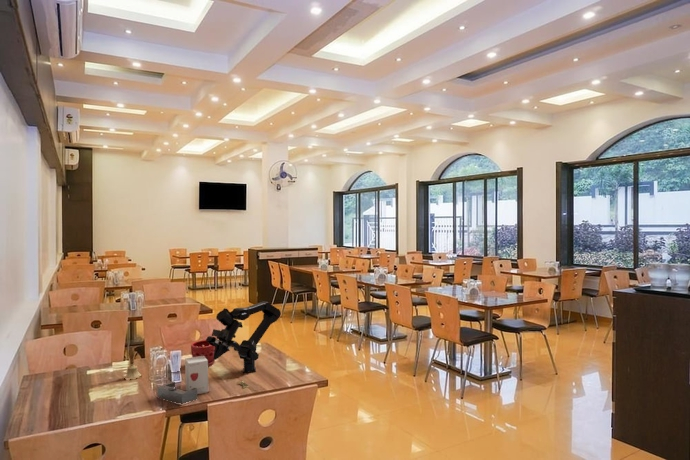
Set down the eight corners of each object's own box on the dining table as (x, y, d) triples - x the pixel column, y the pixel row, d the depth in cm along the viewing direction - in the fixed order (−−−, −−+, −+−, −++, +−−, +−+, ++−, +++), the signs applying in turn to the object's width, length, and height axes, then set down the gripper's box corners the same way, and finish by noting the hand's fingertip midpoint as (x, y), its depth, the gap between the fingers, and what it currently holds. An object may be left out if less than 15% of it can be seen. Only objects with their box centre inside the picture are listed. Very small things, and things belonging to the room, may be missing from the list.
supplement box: (188, 396, 213) (187, 363, 212) (185, 389, 220) (184, 358, 220) (209, 392, 217) (208, 360, 216) (205, 386, 225) (204, 355, 224)
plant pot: (186, 366, 256) (185, 344, 256) (206, 359, 267) (205, 338, 266) (202, 370, 249) (201, 347, 248) (221, 363, 259) (221, 341, 259)
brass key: (236, 383, 227) (236, 382, 227) (242, 382, 229) (242, 380, 229) (243, 388, 221) (243, 386, 221) (250, 386, 223) (249, 385, 223)
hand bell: (129, 381, 234) (127, 349, 234) (120, 378, 239) (119, 346, 239) (144, 376, 241) (143, 345, 240) (136, 373, 246) (135, 343, 245)
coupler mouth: (173, 392, 218) (172, 380, 218) (197, 399, 208) (196, 387, 208) (157, 398, 211) (157, 385, 211) (181, 405, 202) (181, 392, 201)
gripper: (207, 320, 235) (191, 348, 226) (235, 324, 225) (218, 354, 216) (220, 331, 242) (204, 359, 233) (247, 336, 232) (231, 365, 224)
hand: (214, 359), depth 226 cm, fingers closed
